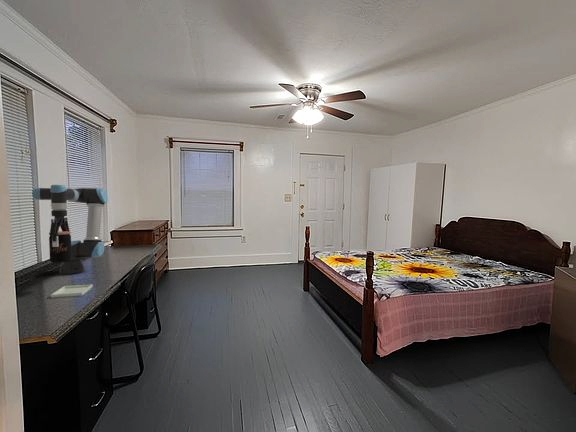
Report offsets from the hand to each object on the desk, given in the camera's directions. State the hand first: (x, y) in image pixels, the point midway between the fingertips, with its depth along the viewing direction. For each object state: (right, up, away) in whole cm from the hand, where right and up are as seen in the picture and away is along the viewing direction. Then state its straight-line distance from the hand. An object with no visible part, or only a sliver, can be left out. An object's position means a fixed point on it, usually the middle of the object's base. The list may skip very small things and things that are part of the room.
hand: (60, 245), depth 174 cm
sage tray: (+11, -28, -4) cm, 31 cm away
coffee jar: (0, -10, +1) cm, 10 cm away
